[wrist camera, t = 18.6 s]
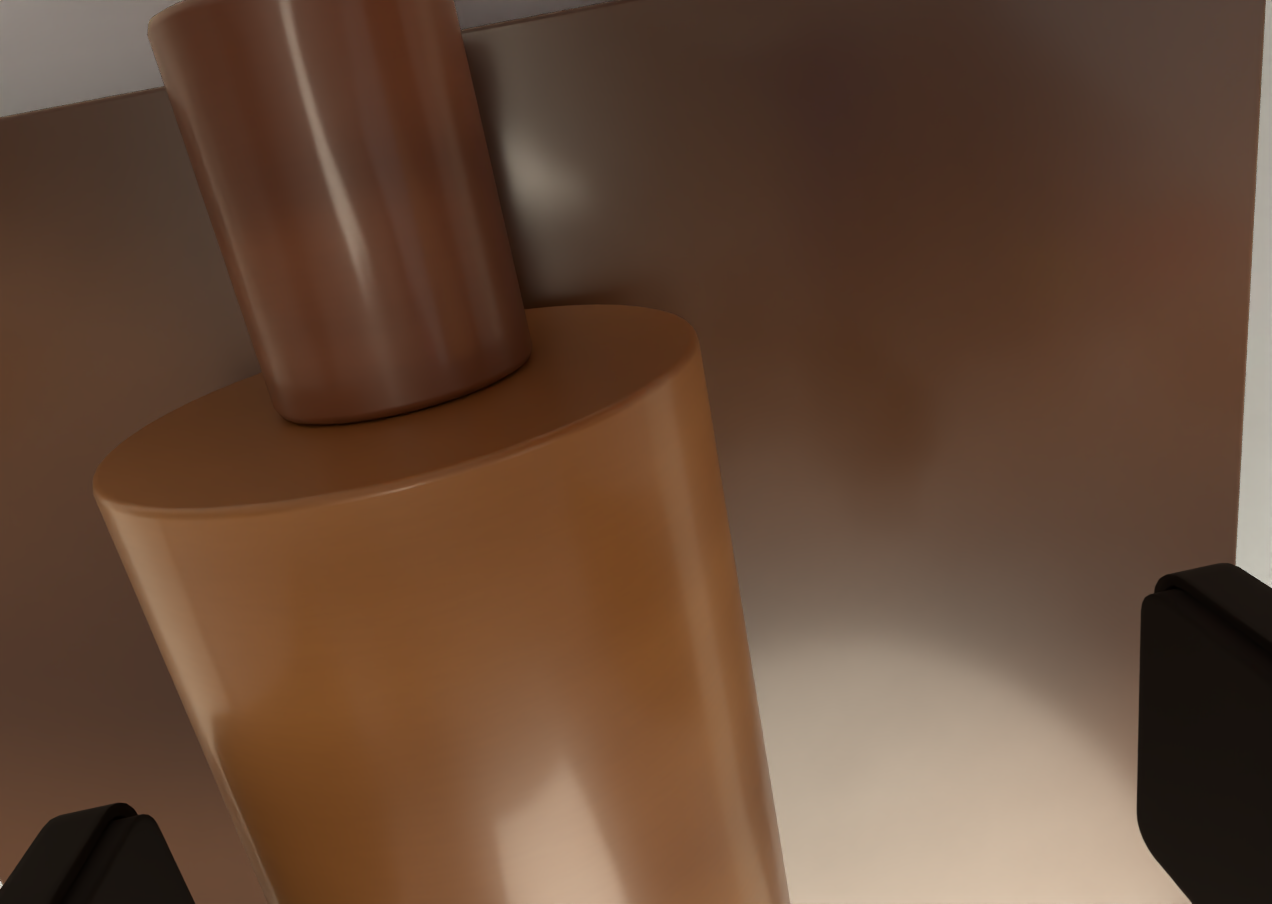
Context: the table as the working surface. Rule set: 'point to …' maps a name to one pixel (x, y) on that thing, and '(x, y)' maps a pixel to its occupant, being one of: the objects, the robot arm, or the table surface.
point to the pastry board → (748, 398)
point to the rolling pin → (433, 510)
